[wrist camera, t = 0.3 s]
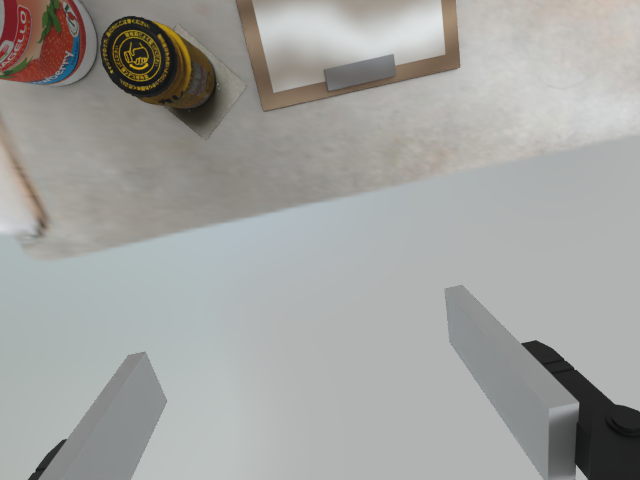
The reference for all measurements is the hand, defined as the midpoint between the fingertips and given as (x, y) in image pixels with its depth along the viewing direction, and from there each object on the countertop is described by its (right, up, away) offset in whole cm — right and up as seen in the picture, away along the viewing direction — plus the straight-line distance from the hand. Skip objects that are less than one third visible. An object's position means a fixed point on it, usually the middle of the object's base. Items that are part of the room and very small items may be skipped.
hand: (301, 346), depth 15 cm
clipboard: (+3, +28, +20) cm, 34 cm away
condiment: (-12, +21, +21) cm, 32 cm away
